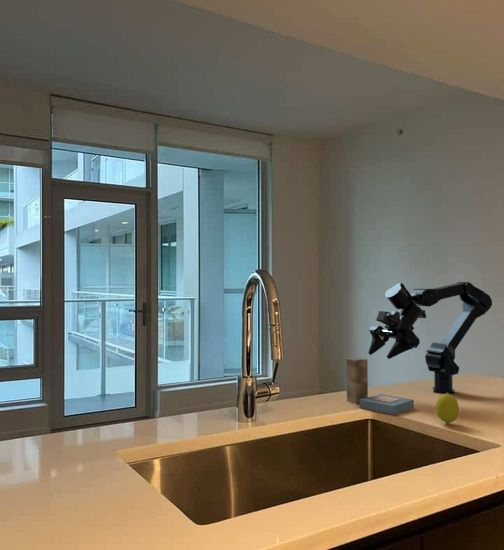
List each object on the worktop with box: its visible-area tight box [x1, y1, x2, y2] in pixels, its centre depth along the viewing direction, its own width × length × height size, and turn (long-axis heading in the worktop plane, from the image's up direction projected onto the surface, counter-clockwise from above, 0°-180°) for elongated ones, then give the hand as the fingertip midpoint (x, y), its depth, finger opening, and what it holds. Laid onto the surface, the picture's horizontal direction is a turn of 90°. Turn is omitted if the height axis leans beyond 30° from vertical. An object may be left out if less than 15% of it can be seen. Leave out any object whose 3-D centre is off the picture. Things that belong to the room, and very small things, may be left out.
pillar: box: [346, 357, 369, 404], centre depth 158 cm, size 4×4×13 cm
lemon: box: [435, 393, 460, 425], centre depth 132 cm, size 6×6×8 cm
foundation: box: [359, 393, 415, 416], centre depth 150 cm, size 11×11×3 cm
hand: (378, 355), depth 161 cm, fingers open, 9 cm apart
